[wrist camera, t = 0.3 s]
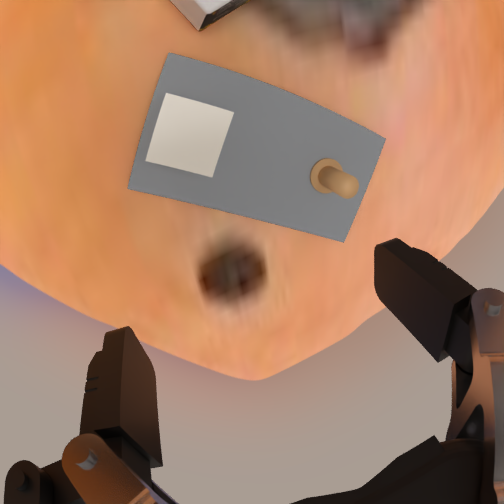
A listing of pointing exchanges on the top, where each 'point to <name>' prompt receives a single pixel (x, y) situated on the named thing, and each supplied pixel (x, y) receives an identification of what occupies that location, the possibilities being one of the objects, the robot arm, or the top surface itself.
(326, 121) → the board
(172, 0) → the medicine bottle
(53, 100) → the top surface
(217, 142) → the beige cube block
